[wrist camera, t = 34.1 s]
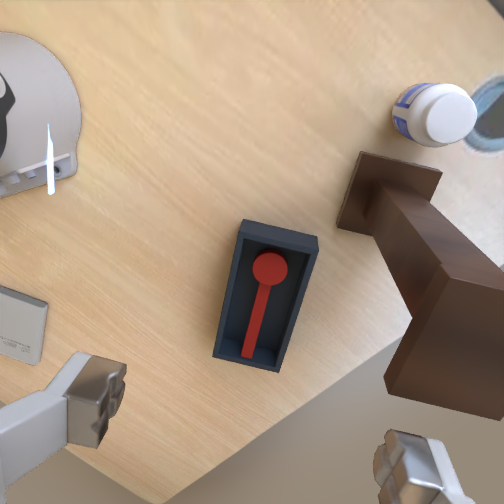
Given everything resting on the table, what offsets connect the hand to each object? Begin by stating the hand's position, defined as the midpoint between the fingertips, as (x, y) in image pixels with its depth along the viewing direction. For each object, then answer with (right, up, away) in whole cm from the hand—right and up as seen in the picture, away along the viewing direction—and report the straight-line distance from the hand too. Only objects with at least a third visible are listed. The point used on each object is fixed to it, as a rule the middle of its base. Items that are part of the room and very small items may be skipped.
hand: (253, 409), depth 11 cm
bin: (+2, -1, +39) cm, 39 cm away
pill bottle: (+18, +20, +28) cm, 38 cm away
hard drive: (-37, -6, +47) cm, 60 cm away
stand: (+16, +11, +32) cm, 37 cm away
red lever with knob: (+1, -2, +38) cm, 38 cm away
